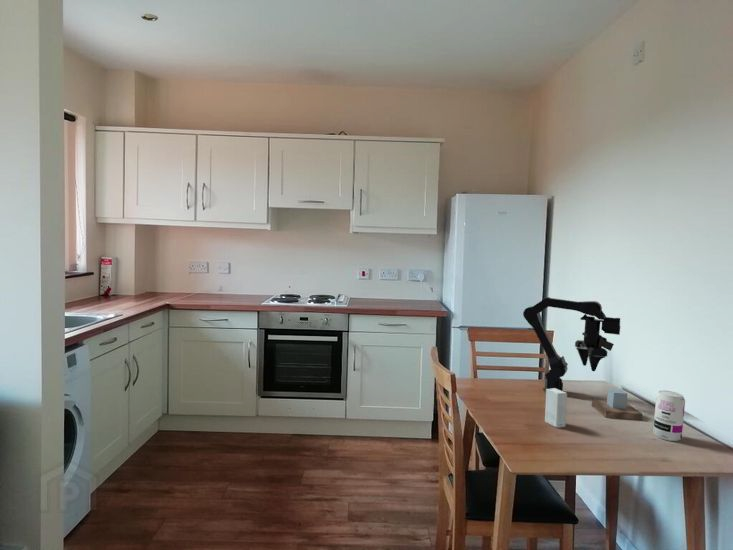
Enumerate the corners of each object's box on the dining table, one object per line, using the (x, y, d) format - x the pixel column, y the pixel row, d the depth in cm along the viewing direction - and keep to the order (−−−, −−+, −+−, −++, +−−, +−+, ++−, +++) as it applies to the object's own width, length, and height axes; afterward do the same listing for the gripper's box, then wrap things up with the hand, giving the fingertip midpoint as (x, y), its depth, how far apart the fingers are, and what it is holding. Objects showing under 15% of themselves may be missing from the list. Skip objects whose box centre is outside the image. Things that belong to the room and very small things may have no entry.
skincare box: (566, 427, 164) (568, 392, 163) (555, 428, 162) (558, 393, 162) (553, 420, 170) (556, 387, 169) (543, 421, 168) (545, 388, 167)
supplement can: (677, 434, 162) (681, 392, 161) (684, 443, 154) (688, 399, 153) (650, 430, 165) (654, 388, 164) (656, 439, 157) (660, 395, 156)
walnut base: (605, 417, 176) (606, 411, 176) (591, 405, 189) (592, 399, 189) (641, 420, 175) (642, 413, 175) (625, 408, 188) (625, 402, 188)
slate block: (612, 408, 180) (613, 392, 179) (606, 403, 184) (608, 388, 184) (626, 409, 179) (627, 393, 179) (620, 404, 184) (621, 389, 184)
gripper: (622, 336, 187) (619, 375, 188) (602, 328, 205) (599, 364, 206) (593, 335, 187) (590, 373, 188) (576, 327, 206) (573, 362, 207)
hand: (588, 368), depth 197 cm, fingers open, 9 cm apart
